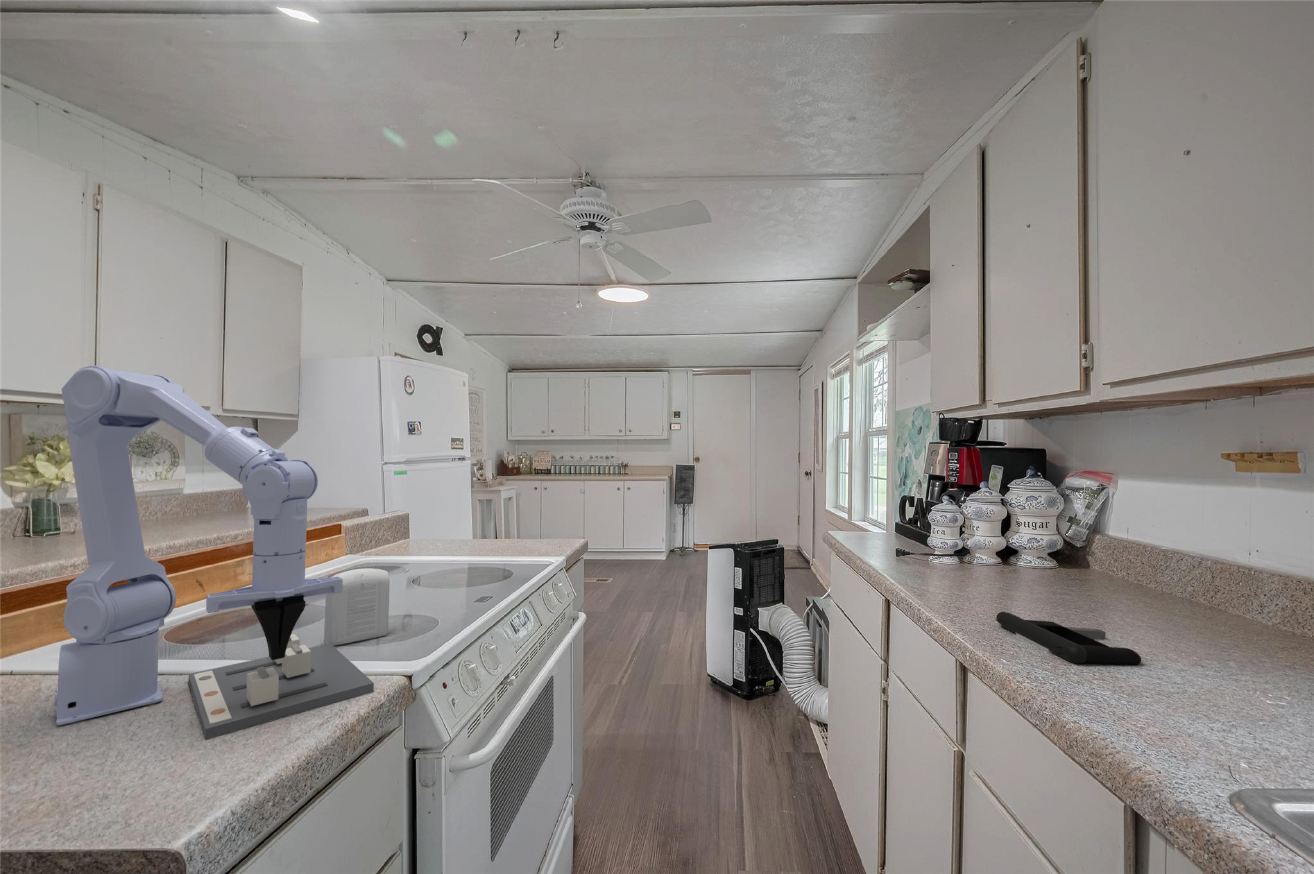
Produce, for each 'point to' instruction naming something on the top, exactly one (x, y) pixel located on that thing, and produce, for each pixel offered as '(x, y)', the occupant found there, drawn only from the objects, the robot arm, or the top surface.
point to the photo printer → (358, 607)
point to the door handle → (1068, 641)
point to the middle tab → (296, 661)
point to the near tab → (262, 686)
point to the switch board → (325, 684)
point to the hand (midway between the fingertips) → (276, 656)
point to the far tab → (292, 641)
